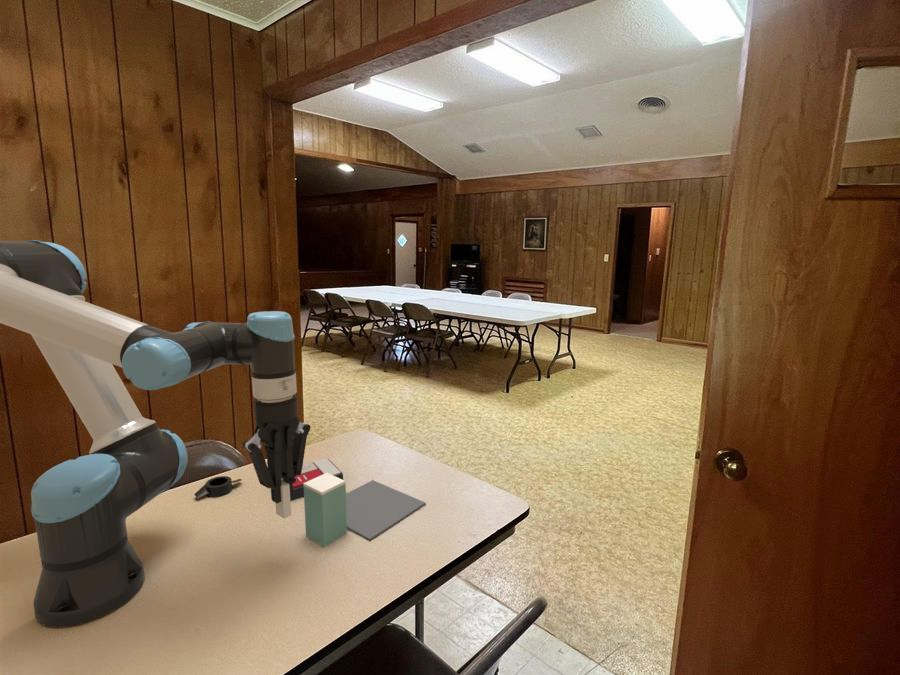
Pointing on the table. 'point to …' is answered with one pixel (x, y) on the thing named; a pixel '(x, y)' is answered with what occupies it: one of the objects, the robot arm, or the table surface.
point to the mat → (377, 509)
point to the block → (325, 508)
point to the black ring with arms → (216, 487)
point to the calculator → (313, 475)
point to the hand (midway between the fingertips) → (283, 514)
